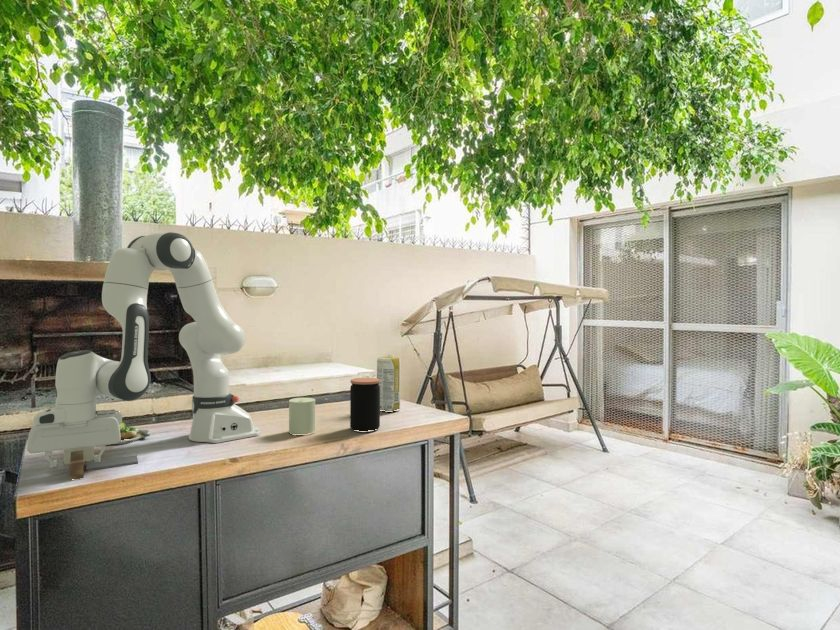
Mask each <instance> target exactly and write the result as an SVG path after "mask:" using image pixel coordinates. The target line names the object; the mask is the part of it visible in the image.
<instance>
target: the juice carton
mask: <svg viewBox="0 0 840 630" xmlns="http://www.w3.org/2000/svg"><path fill="white" fill-rule="evenodd" d="M394 356H395V354H389V353H388V355H386V356H379V357H377V358H376V378H377V379H380V382H379V386H380V410H385V411H394V410H397V409H401V357H394Z"/></svg>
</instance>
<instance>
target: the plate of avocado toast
mask: <svg viewBox="0 0 840 630" xmlns="http://www.w3.org/2000/svg"><path fill="white" fill-rule="evenodd" d="M119 427H120V435H121V440H122V441H119V442H118V443H117V444H120V445H124V444H123V443H126V444H130V443H129V442H131V443H134V442H137V441H140V440H142V438H143V439H144V438H147V437H151V434H150V430H149V429H140V428H137V427H134V426H130V425H129V426H127V424H126V423H125V422H123V421H122V423H121V424H120V425H119ZM124 439H129V440H124ZM139 439H140V440H139ZM136 440H137V441H136ZM133 441H134V442H133Z"/></svg>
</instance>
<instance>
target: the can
mask: <svg viewBox="0 0 840 630" xmlns="http://www.w3.org/2000/svg"><path fill="white" fill-rule="evenodd" d="M288 410H289V411H288V412H289V413H288V416H289V417H288V434H289V433H291V434H308V433H312V432H314V431H316V398H313V397H295V398H291V399H289V400H288Z"/></svg>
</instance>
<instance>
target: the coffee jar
mask: <svg viewBox="0 0 840 630" xmlns="http://www.w3.org/2000/svg"><path fill="white" fill-rule="evenodd" d="M379 382H380V379H377V377H356V378H351V379H350V383H351V385H350V388H349V390H350V392H349V393H350V397H349V398H350V400H349V401H350V402H349V403H350V406H349V408H350V411H349V413H350V417H349V418H350V420H349V422H350V425H349V427H350V429H351V430H352V429H353V430H359V431H368V430H375V429H378V430H379V428H380V426H381V425H380V424H381V421H380V420H381V418H380V417H381V411H380V386H379ZM353 430H352V431H353Z"/></svg>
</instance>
